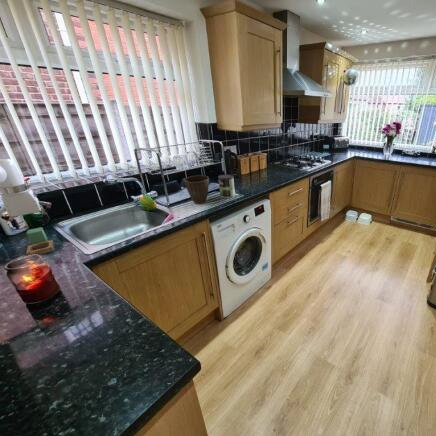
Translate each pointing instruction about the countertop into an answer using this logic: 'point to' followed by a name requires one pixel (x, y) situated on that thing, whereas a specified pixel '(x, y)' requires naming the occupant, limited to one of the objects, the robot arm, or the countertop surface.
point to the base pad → (40, 245)
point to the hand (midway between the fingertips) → (33, 224)
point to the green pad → (37, 235)
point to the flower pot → (197, 188)
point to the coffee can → (226, 186)
